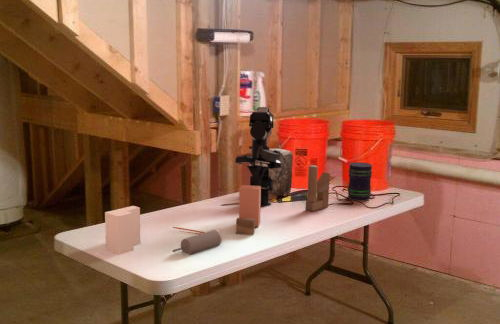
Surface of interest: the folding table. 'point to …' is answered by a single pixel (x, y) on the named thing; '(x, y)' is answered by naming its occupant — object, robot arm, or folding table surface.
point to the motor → (199, 241)
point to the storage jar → (359, 181)
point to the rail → (245, 226)
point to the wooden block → (317, 189)
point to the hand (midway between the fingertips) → (257, 184)
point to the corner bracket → (122, 229)
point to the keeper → (250, 202)
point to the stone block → (282, 173)
